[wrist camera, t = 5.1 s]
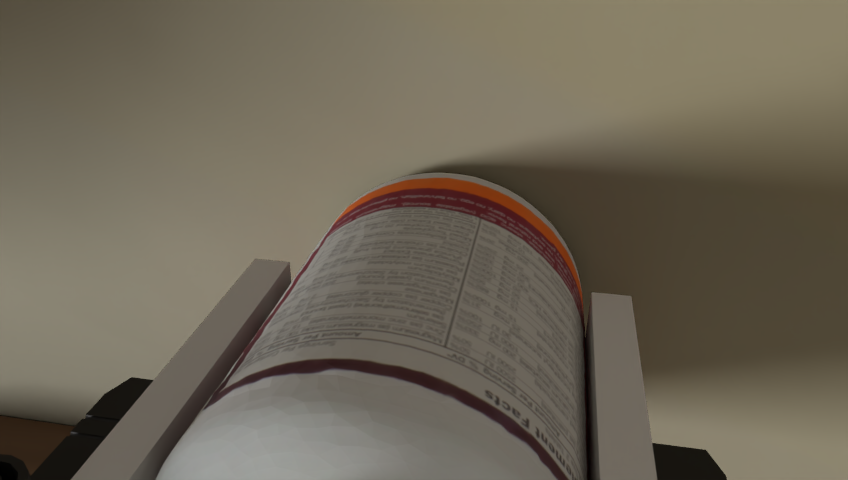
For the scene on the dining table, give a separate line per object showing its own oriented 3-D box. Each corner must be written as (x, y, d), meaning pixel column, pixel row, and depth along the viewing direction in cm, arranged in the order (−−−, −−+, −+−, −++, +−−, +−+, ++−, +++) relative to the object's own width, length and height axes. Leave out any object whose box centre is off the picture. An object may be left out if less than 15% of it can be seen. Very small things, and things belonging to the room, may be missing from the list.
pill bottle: (457, 433, 19) (327, 1071, 9) (271, 281, 18) (-120, 807, 8) (643, 293, 16) (765, 985, 6) (437, 103, 15) (162, 559, 5)
